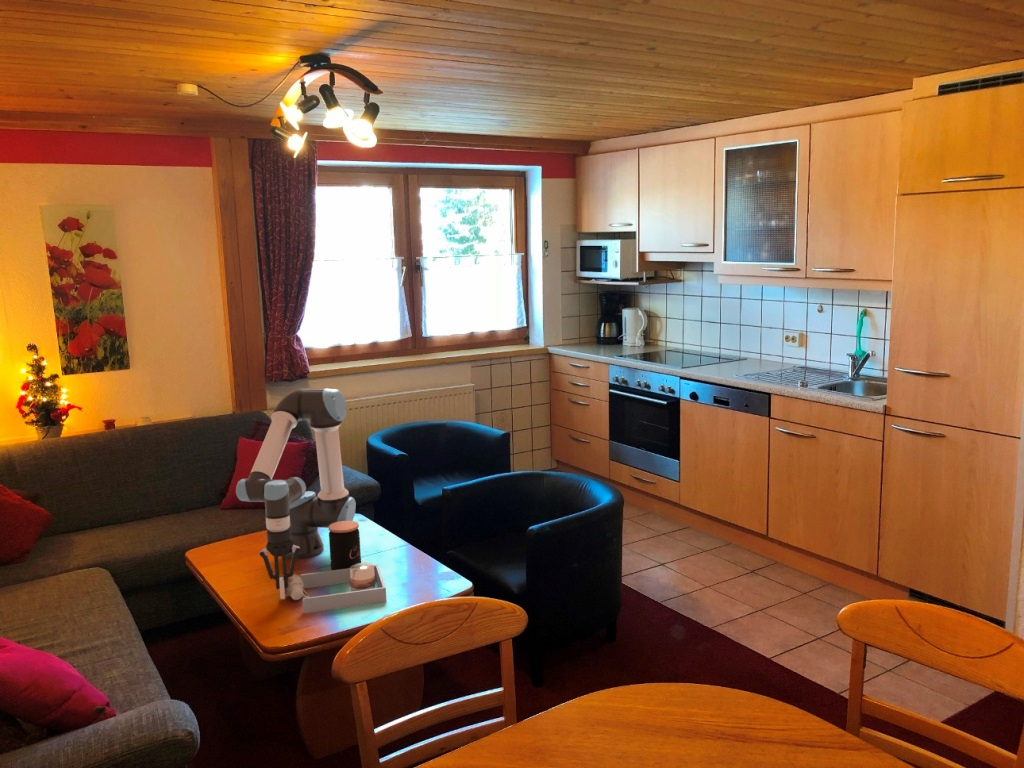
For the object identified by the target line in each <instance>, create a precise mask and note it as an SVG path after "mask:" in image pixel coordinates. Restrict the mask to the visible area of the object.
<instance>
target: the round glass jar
mask: <svg viewBox="0 0 1024 768" xmlns="http://www.w3.org/2000/svg"><path fill="white" fill-rule="evenodd" d="M374 565H375V564H373V563H370V562H361V563H358V564H354V565H352V566H351V567H350V582H349V583H350V592H352V591H360V590H367V589H374V588H376V579H375V574H374Z"/></svg>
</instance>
